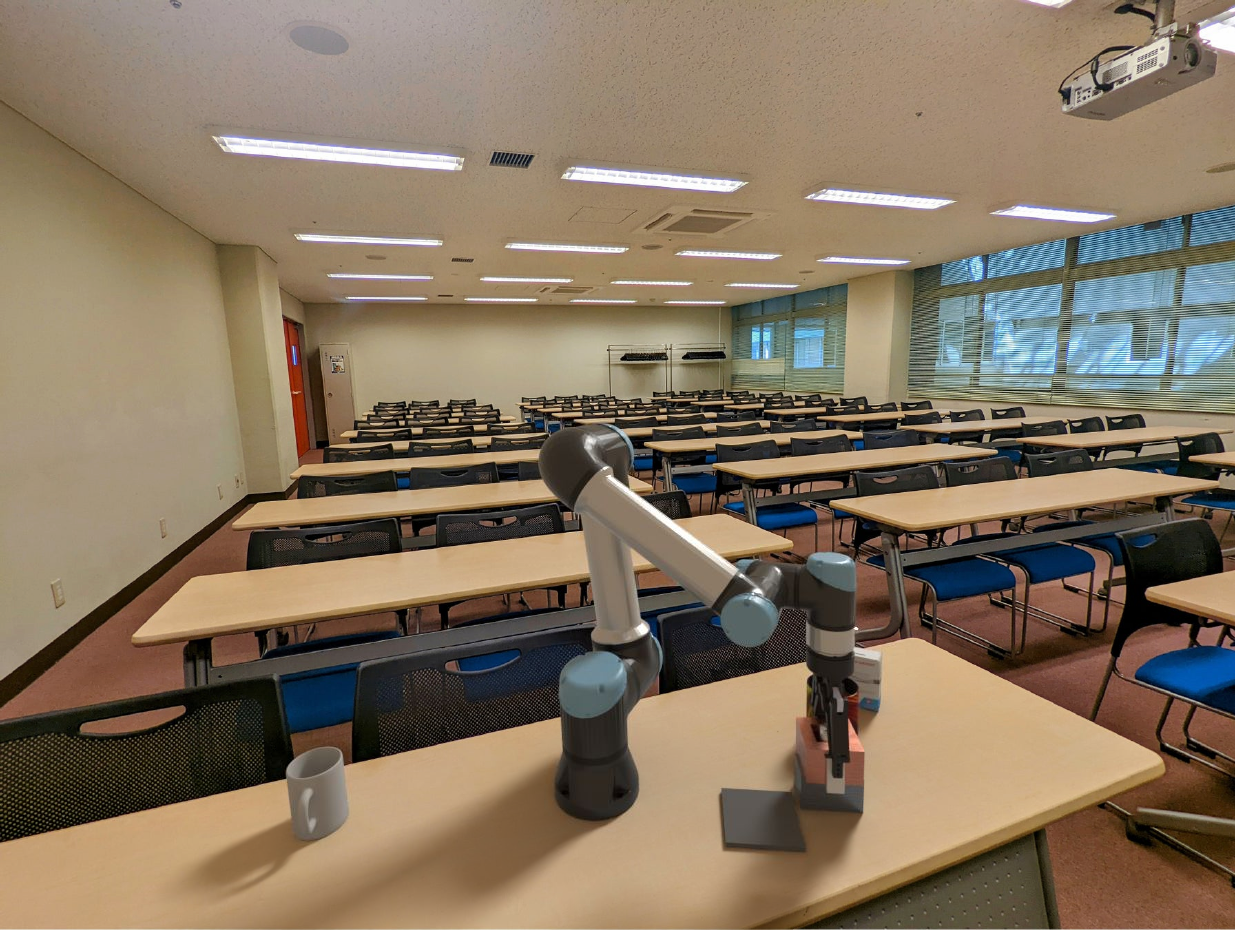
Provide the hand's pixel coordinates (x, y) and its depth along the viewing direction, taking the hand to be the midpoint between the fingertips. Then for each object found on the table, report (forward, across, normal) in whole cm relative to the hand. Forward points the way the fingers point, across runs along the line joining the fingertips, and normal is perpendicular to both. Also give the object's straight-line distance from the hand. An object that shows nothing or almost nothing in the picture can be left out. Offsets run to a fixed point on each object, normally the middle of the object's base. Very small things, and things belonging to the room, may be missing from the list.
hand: (827, 771), depth 96 cm
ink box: (+5, +31, -14) cm, 34 cm away
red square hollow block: (-1, 0, 0) cm, 1 cm away
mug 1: (+5, -14, +85) cm, 86 cm away
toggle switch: (+5, 0, 0) cm, 5 cm away
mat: (+5, -6, +12) cm, 14 cm away
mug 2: (+5, +18, -4) cm, 19 cm away
